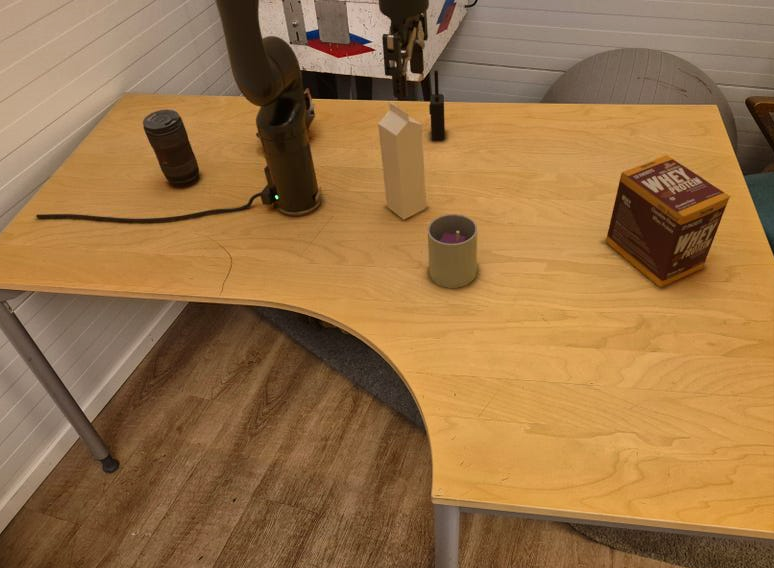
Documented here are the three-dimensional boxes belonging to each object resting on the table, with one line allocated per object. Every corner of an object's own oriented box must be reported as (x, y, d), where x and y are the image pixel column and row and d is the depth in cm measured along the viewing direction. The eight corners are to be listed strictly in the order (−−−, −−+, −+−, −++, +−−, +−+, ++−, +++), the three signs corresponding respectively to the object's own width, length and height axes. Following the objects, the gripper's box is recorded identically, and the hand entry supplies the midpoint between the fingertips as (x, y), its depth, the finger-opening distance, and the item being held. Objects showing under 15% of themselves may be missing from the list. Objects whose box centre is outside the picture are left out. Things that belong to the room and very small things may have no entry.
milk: (403, 220, 129) (394, 119, 112) (386, 207, 132) (375, 107, 116) (427, 208, 131) (421, 108, 115) (409, 195, 135) (401, 96, 118)
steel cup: (423, 283, 116) (421, 240, 109) (437, 253, 122) (435, 210, 114) (469, 291, 114) (469, 248, 107) (481, 261, 119) (482, 218, 112)
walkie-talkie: (444, 140, 148) (443, 77, 137) (430, 141, 148) (427, 78, 137) (444, 130, 151) (443, 67, 140) (430, 130, 152) (427, 68, 140)
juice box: (439, 273, 117) (438, 234, 110) (444, 262, 119) (443, 223, 112) (461, 277, 116) (461, 238, 109) (466, 266, 118) (466, 227, 111)
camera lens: (159, 186, 142) (133, 125, 131) (180, 167, 147) (157, 106, 136) (188, 193, 140) (164, 130, 129) (209, 173, 145) (187, 111, 134)
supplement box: (660, 289, 112) (683, 216, 100) (604, 242, 121) (619, 170, 109) (704, 268, 115) (732, 196, 103) (647, 224, 124) (666, 153, 112)
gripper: (394, -43, 97) (401, 63, 109) (360, -9, 88) (372, 103, 100) (440, -41, 95) (443, 67, 107) (410, -5, 86) (417, 108, 98)
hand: (409, 84), depth 104 cm, fingers open, 8 cm apart
